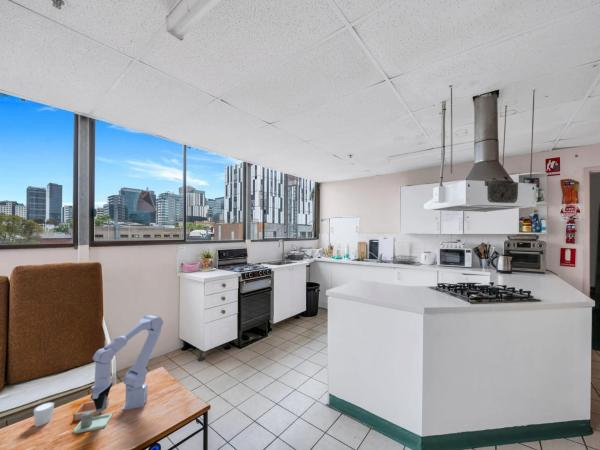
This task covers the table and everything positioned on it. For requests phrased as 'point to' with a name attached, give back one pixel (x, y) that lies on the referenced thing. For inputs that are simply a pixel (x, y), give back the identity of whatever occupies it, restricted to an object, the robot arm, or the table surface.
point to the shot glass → (43, 413)
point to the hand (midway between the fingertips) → (101, 405)
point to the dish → (87, 407)
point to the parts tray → (94, 423)
